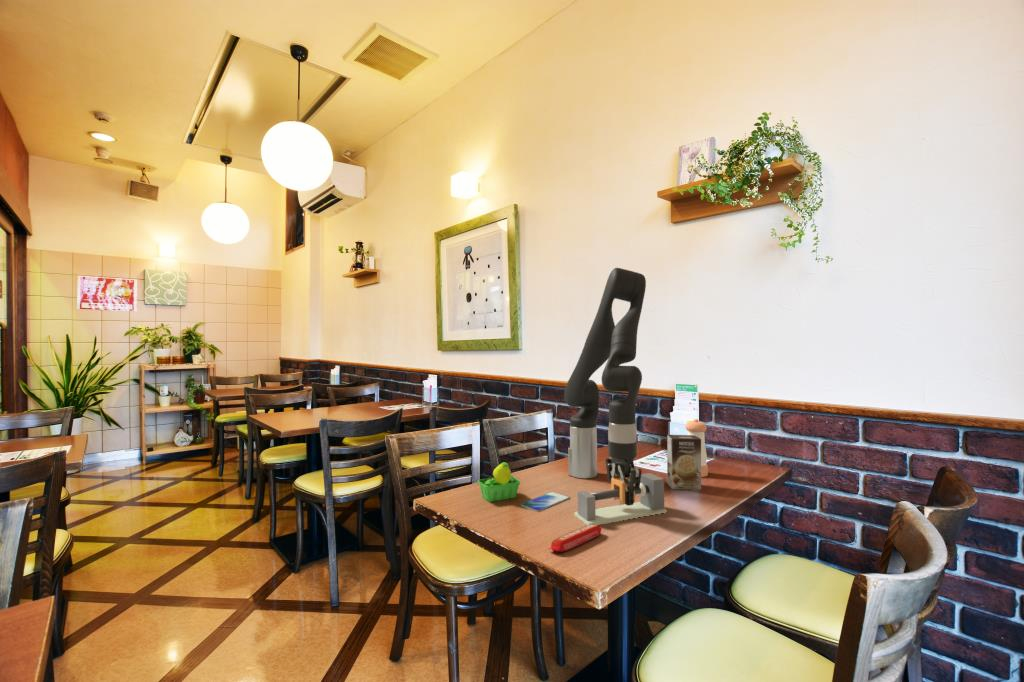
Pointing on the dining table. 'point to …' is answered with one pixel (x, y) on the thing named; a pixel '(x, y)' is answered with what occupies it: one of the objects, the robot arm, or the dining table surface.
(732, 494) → the dining table surface
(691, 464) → the coffee box
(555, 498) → the smartphone
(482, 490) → the fruit basket
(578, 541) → the candy bar
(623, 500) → the marker sleeve
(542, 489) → the dining table surface
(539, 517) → the dining table surface
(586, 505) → the cord stand
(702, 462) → the pepper shaker
